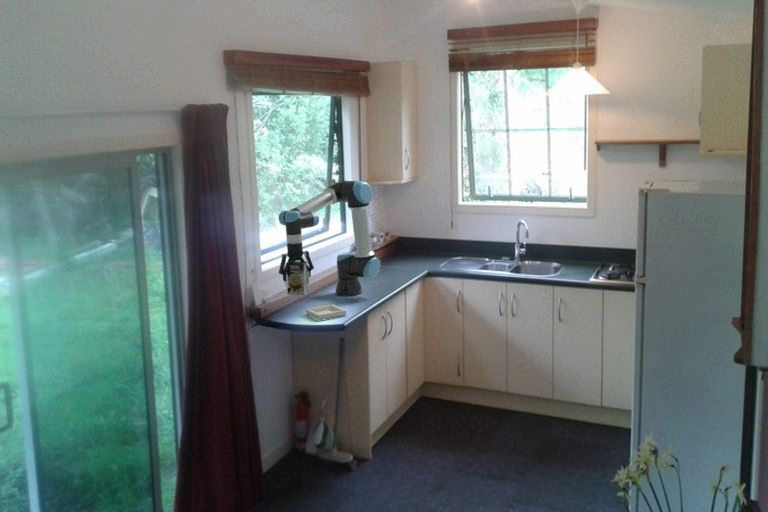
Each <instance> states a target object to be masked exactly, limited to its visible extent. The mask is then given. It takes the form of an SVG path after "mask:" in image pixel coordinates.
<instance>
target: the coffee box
mask: <svg viewBox="0 0 768 512" xmlns="http://www.w3.org/2000/svg"><path fill="white" fill-rule="evenodd" d="M304 261H305V260H304ZM306 264H307V265H308V262H307V260H306V261H305V262H301V261H300V260H299V261H293V262H292V263H291V265H290V268H289V270H288V272H287V275H288V284H289V288H287V287H286V289H287V290H286V291H287V295H292V296H293V295H294V296H305V295H306V294H308V293H309V291H308V284H307V268H306ZM287 265H288V263H287V262H285V266H287Z"/></svg>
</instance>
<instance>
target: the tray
mask: <svg viewBox="0 0 768 512" xmlns="http://www.w3.org/2000/svg"><path fill="white" fill-rule="evenodd" d="M305 314H306V316H308V317H310V316H311V317H310V318H312V317H313V318H312V319H314V318H315V319H317V320H323V319H328V320H330V319H329V318H333V319H336V318H335V317H338V318H341V317H340V316H344V317H346V316H347V309H345V308H342V307H340V306H338V305H336V304H333V303H332V304H326V305H325V304H324V305H320V306H315V307H310V308H309V307H308V308H305ZM345 315H346V316H345ZM315 319H314V320H315ZM317 320H316V321H317ZM323 321H324V320H323Z"/></svg>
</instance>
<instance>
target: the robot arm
mask: <svg viewBox="0 0 768 512" xmlns="http://www.w3.org/2000/svg"><path fill="white" fill-rule="evenodd" d="M372 198H373V190H372V187H371V185H370V184H369V183H368V182H365V181H361V180H342V181H341V180H340V181H338V182H336V183H333V184H331V185H329V186H328V187H326V188H324V190H323V192H320V193H319V194H317V195H315V196H313V197H312V198H309V199H308V200H307V201H305V202H303V203H301V204H298V205H297V206H295V207H294V208H292V209H290V210H282V211H281V212H280V213H278V214H279V215H278V221H279V224H281V226H285V233H286V235H285V236H286V242H287V243H286V247H287V253H285V254H284V253H281V262H280V266H279V269H278V274H280V275H282V280H283V282H284V284H285V285H284V286H285V288H286V289H287V288H289V284H288V275H287V272H288V270H289V268H290V265H291V263H292V262H293V261H301V262H305V259H306V261H307V264H306V268H307V285H310V281H311V280H310V278H311V277H312V276H311V275H312V274H311V272H312V270H315V266H314V264H313V262H312V259H311V257H310V252H309V251H308V250H304V249H303V238H302V237H303V234H302V230H303V229H308V228H313V227H315V226H318V224H319V223H320V216H319V214H318V213H317V212H319V211H321V210H322V209H325V208H326V207H327V206H330V205H332V206H333V205H334V204H337V203H347V208H348V209H350V210H351V219H352V228H353V237H354V244H355V251H353V252H352V251H351V252H344V253H340V254H338V255H337V256H336V269H337V272H336V273H337V284H336V288H335V295H337V296H341V297H342V296H343V297H349V296H350V297H352V296H357V295H360V294H362V293H363V288H362V285H361V282H360V280H359V278H365V279H373V278H375V277H376V276H378V274H379V273H380V270H381V265H382V264H381V260H380V259H379V258H378V257H376V253H375V251H373V249H372V243H371V241H372V240H371V233H370V224H369V223H370V222H369V216H368V215H369V213H368V208H369V206H370V202H371V201H372ZM303 250H304V251H303ZM303 256H304V257H305V259H304V258H303ZM287 258H288V259H287ZM286 261H287V262H286ZM286 263H288V265H287V266H286Z"/></svg>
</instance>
